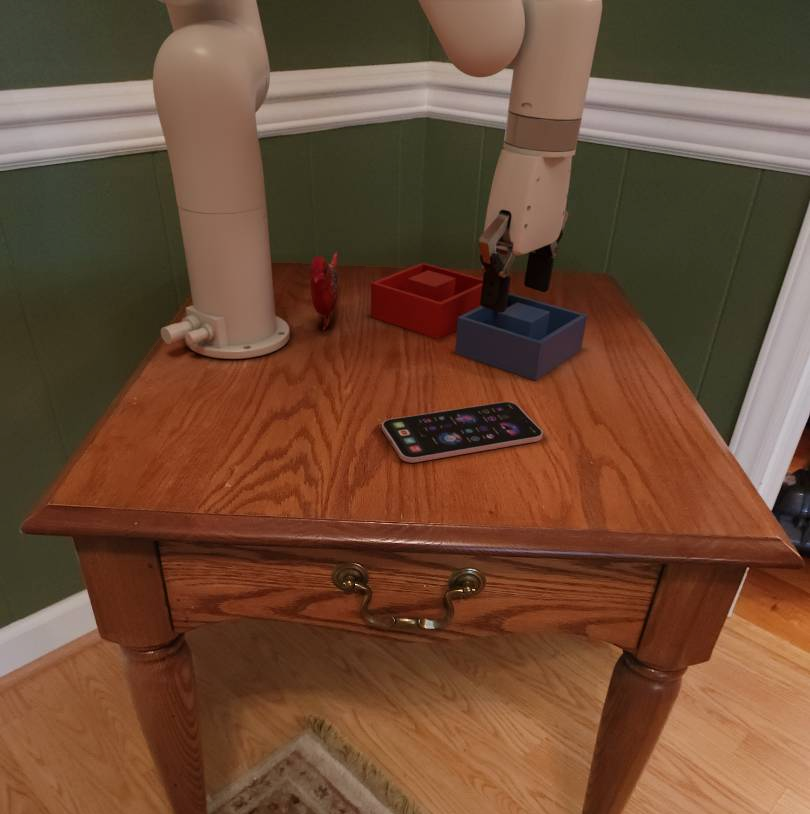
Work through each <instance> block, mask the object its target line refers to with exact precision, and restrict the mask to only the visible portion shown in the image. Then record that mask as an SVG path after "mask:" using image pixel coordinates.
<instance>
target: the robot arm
mask: <svg viewBox="0 0 810 814" xmlns="http://www.w3.org/2000/svg"><path fill="white" fill-rule="evenodd" d="M157 1H158V2H160V3H163V4H165V6H166V9H167V13H168V16H169V21H170V23H171V27H172V30H173V32H171V33H170V34H169V35H168V36H167V37H166V39H164V41H163V42H162V44H161V46H160V47H159V49H158V51H157V54H156V57H155V60H154V66H153V73H152V90H153V98H154V103H155V108H156V112H157V116H158V118H159V119H158V120H159V123H160V127H161V131H162V134H163V138H164V141H165V145H166V150H167V155H168V159H169V164H170V168H171V174H172V180H173V187H174V193H175V199H176V205H177V211H178V218H179V223H180V230H181V236H182V242H183V249H184V257H185V263H186V268H187V269H186V270H187V275H188V281H189V289H190V295H191V301H192V305H189V306H187V307H185V315H186V316H184V317H182V319H181V321H180V322H175V323H172V324H168V325H166V326H163V327H161V328H160V336H161V339H162V341H163V342H164V343H165V344H167V345H171V344H174V343H177V342H179V341H182V340H183V339H184V342H185V344H186V346H187V347H188V349H190V350H191V351H193V352H195V353H196V354H199V355H202V356H205V357H209V358H214V359H221V360H222V359H223V360H236V359H237V360H242V359H243V360H244V359H250V358H256V357H261V356H265V355H268V354H272V353H273V352H276V351H279V349H281V348H283V347H285V345H286V344H287V343H288V342H289V340H290V337H291V332H290V330H291V329H290V325H289V324H288V323H287V322H286V321H285V320H284V319H283V318H281V317H279V316H277V315H276V304H275V291H274V278H273V268H272V267H273V266H272V257H271V256H272V255H271V245H270V232H269V231H270V230H269V221H268V208H267V200H266V199H267V197H266V187H265V185H266V184H265V176H264V168H263V159H262V154H261V148H260V147H261V146H260V141H259V135H258V133H259V132H258V127H257V117H256V113H257V112H258V111H259V110H260V108H262V105H263V104H264V102H265V100H266V98H267V96H268V92H269V89H270V83H271V67H270V59H269V55H268V54H269V53H268V50H267V44H266V39H265V35H264V31H263V26H262V21H261V16H260V12H259V7H258V3H257V0H157ZM417 1H418V3H419V5H420V7H421V8H422V10H423V11H422V12H423V13H424V14H425V16H426V18H427V21H428V22H429V24H430V26H431V29H432V30H433V32H434V34H435V36H436V37H437V40H438V41H439V43H440V45H441V47H442V49H443V52H444V53H445V55H446V57H447V58H448V60H449V62H450V63H451V64H452V65H453V66H454V67H455V68H456V69H457V70H459V72H461V73H463V74H465V75H466V76H470V77H473V78H488V77H492V76H494V75H497V74H499V73H500V72H502V71H503V70H505V69H506V68H507V67H508V66H512V70H513V71H512V78H511V85H510V94H509V101H508V109H507V114H506V124H505V132H504V137H503V138H504V139H503V145H502V147H503V149H501V150H500V154H499V157H498V160H497V163H496V166H495V171H494V173H493V179H492V184H491V187H490V193H489V197H488V203H487V207H486V208H487V209H486V215H485V219H484V221H485V222H484V226H483V233H482V234H481V235H480V237H479V239H478V246H479V252H480V253H479V254H480V256H479V260H480V263H481V265H482V266H481V271H482V273H483V276H482V279H483V284H482V291H481V299H480V305H481V306H482V307H485V308H488V309H491V310H494V311H497V312H500V313H502V312H504V311H506V307H507V300H508V294H509V293H510V286H511V279H512V276H510V275H509V272H510V271H511V269H512V267H513V265H514V263H515V261H516V259H517V257H520V256H523V255H526V254H528V258H527V263H526V268H525V275H524V282H523V285H524V287H526V288H528V289H532V290H535V291H538V292H541V293H546V292H548V291H549V290H550V286H551V281H552V274H553V270H554V264H555V260H556V258H555V257H557V255H558V253H559V246H558V245H559V243H560V241H561V239H562V238H563V235H564V231H563V230H564V229H565V226H566V223H567V220H568V218H569V211H568V210H567V209H566V208H567V203H568V202H567V201H568V195H569V188H570V182H571V181H570V180H571V172H572V162H573V156H575V155H576V151H577V146H578V141H579V135H580V130H581V124H582V118H583V115H584V110H585V104H586V98H587V94H588V87H589V83H590V76H591V72H592V66H593V62H594V58H595V57H594V56H595V52H596V47H597V46H596V45H597V41H598V35H599V29H600V24H601V19H602V12H603V0H417ZM499 254H502V255H505V257H504V260H503V261H502V259H501V257H500V255H499Z"/></svg>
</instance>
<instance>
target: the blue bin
mask: <svg viewBox="0 0 810 814" xmlns="http://www.w3.org/2000/svg"><path fill="white" fill-rule="evenodd" d="M517 302H518V303H521V304H525V305H528V306H532V307H535V308H539V309H542V310H546V311H549V312H550V314H549V320H548V327H547V333H546V337H544V338H543V339H541V340H540V341H539V340H536V339H533V338H530V337H526V336H523V335H520V334H517V333H513V332H510V331H507V330H504V329H501V328H497V327H496V326H497V317H498V312H497V311H494V310H491V309H488V308H485V307H482V306H480V307H478V308H476V309H474V310H472V311H470V312H468V313H466V314H463V315H461V316H460V317H458V322H457V331H456V336H455V350H454V354H456V355H459V356H462V357H465V358H468V359H471V360H473V361H477V362H479V363H483V364H484V365H488V366H491V367H494V368H497V369H500V370H503V371H506V372H509V373H512V374H514V375H518V376H520V377H524V378H526V379H529V380H532V381H534V382H536V381H538V380H539V379H540V378H542V377H543V376H545V375H546V374H548V373H549V372H551V371H552V370H554V369H556V368H557V367H558V366H560V365H561V364H563V363H564V362H566V361H567V360H569V359H570V358H572V357H573V356H575V355H576V354H578V353H579V352H581V351H582V347H583V342H584V336H585V331H586V326H587V321H588V317H589V316H588V314H585V313H583V312H578V311H575V310H572V309H568V308H565V307H561V306H558V305H554V304H550V303H547V302H543V301H540V300H536V299H533V298H529V297H526V296H521V295H518V294H514V293H511V292H509V294H508V300H507V307H506V308H508V307H510V306H512V305H513V304H515V303H517Z"/></svg>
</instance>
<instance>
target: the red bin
mask: <svg viewBox="0 0 810 814" xmlns="http://www.w3.org/2000/svg"><path fill="white" fill-rule="evenodd" d="M428 270H429V271H432V272H436V273H439V274H443V275H447V276H450V277H454V278H456V280H455V294H454V296H453V297H450V298H448V299H446V300H444V301H442V302H438V301H435V300H431V299H428V298H425V297H422V296H418V295H415V294H412V293H409V292H407V279H408V278H410V277H413V276H415V275H418V274H420V273H423V272H425V271H428ZM482 284H483V278H480V277H478V276H477V277H476V276H473V275H470V274H466V273H462V272H459V271H455V270H452V269H448V268H444V267H441V266H437V265H434V264H430V263H426V262H421V263H419V264H415V265H413V266H410V267H408V268H406V269H403V270H400V271H397V272H395V273H393V274H390V275H387V276H385V277H383V278H380V279H377V280H374V281H372V282H370V317H371V318H373V319H376V320H379V321H382V322H385V323H387V324H391V325H394V326H397V327H401V328H403V329H407V330H409V331H412V332H415V333H418V334H421V335H424V336H427V337H430V338H433V339H435V340H441V339H444V338H446V337H447V336H450V335H451V334H453V333H455V332H457V322H458V317H460V316H461V315H463V314H466V313H468V312H470V311H472V310H474V309H476V308H478V307H480V306H481V305H480V299H481V291H482Z"/></svg>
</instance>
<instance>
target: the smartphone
mask: <svg viewBox="0 0 810 814" xmlns="http://www.w3.org/2000/svg"><path fill="white" fill-rule="evenodd" d="M381 431H382V432H383V434H384V435H385V437H386V438H387V441H389V443H390V445H391V446H392V447H393V449H394V451H395V453H396V454H397V456H398V457H399V459H400V460H401V461H403V462H406V463H419V462H425V461H431V460H437V459H441V458H449V457H454V456H459V455H460V456H461V455H465V454H472V453H478V452H483V451H488V450H495V449H500V448H507V447H511V446H517V445H522V444H524V445H525V444H529V443H536V442H540V441H541V440H542V439H543V436H544V432H543V430H542V428H541V427H540V426H538V424H536V422H535V421H534V420H533V419H532V418H530V416H529V415H528V414H527V413H526V412H525V411H524V410H523V409H522V408H521V407H520V406H519V405H518V404H517V403H514V402H512V401H499V402H492V403H486V404H480V405H473V406H466V407H459V408H453V409H447V410H441V411H434V412H428V413H421V414H420V413H419V414H413V415H408V416H400V417H394V418H388V419H385V420H384V421H382V423H381Z"/></svg>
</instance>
